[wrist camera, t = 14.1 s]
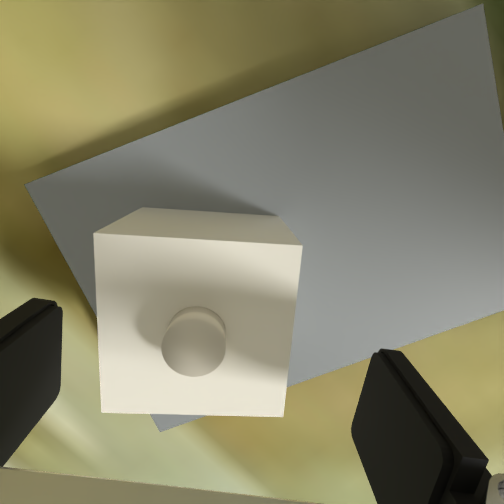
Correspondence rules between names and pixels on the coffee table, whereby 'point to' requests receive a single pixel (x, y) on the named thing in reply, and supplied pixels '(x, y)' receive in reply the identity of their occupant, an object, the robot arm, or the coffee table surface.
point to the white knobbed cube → (195, 312)
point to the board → (334, 191)
